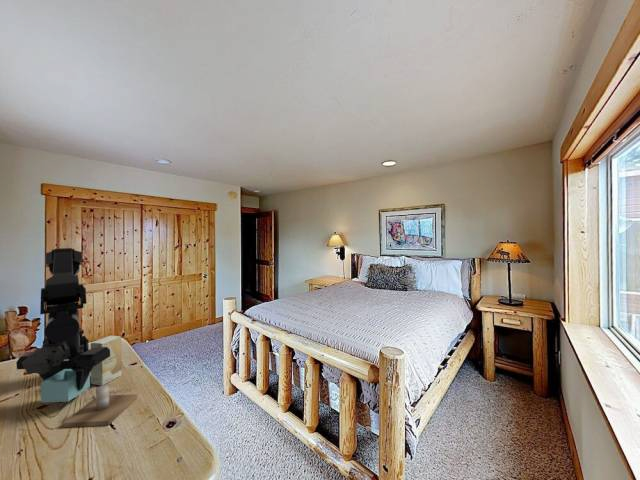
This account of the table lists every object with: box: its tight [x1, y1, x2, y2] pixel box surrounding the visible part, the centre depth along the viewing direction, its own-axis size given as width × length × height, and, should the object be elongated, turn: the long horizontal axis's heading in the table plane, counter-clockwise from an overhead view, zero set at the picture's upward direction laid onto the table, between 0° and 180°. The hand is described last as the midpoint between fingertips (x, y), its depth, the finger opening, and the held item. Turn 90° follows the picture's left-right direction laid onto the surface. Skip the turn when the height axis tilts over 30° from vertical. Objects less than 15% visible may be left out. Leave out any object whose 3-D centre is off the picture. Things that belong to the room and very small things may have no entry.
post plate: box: [62, 384, 138, 428], centre depth 65 cm, size 10×10×6 cm
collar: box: [40, 369, 91, 403], centre depth 68 cm, size 6×6×5 cm
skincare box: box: [90, 335, 123, 386], centre depth 79 cm, size 6×4×12 cm
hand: (66, 390), depth 68 cm, fingers closed on collar, 6 cm apart
